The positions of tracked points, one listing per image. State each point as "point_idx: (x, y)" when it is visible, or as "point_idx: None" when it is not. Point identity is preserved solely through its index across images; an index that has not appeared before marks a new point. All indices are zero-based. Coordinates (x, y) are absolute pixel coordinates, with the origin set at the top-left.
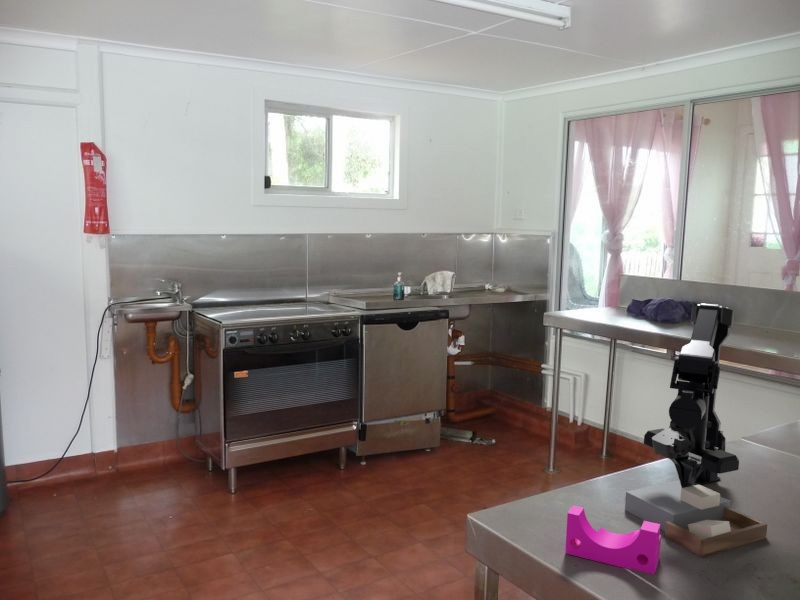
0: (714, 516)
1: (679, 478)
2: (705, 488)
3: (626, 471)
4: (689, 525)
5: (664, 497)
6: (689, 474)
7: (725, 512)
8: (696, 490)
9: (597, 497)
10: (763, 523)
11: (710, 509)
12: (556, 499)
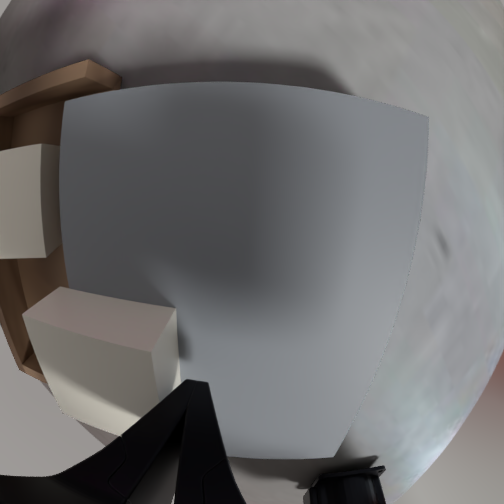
0: None
1: (215, 432)
2: (118, 429)
3: (484, 386)
4: (37, 144)
5: (247, 256)
6: (92, 455)
7: None
8: (101, 384)
9: (488, 157)
10: (21, 368)
11: None
12: (501, 48)
